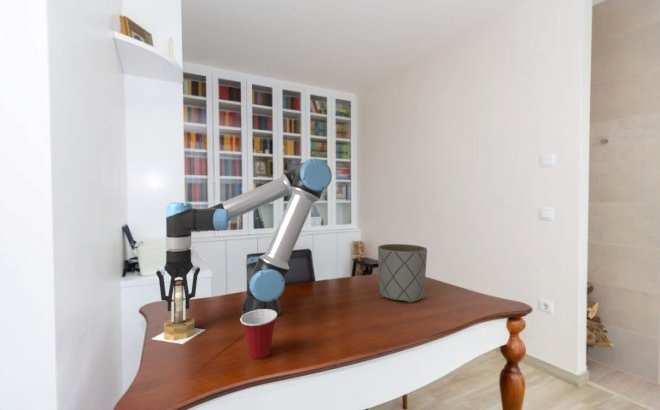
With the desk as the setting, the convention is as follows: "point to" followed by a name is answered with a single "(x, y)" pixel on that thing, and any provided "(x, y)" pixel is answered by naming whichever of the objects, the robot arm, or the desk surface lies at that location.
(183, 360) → the desk surface
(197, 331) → the mat
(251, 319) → the plastic cup
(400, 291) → the planter
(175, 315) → the stone peg
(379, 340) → the desk surface
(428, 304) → the desk surface
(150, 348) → the desk surface
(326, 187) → the robot arm
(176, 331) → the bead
